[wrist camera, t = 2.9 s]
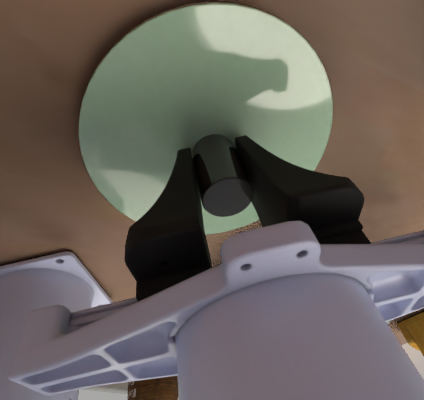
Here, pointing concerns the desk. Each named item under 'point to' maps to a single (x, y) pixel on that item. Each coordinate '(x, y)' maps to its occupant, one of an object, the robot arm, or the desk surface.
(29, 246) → the desk surface
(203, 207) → the lid
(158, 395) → the utensil holder
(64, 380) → the robot arm
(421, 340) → the yellow toy chair
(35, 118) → the desk surface
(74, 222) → the desk surface
